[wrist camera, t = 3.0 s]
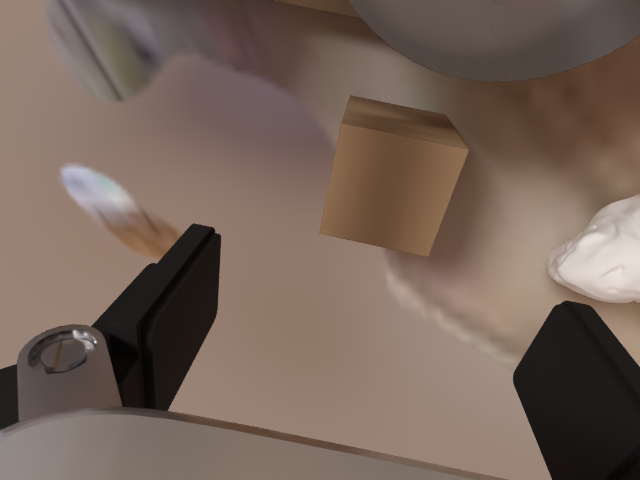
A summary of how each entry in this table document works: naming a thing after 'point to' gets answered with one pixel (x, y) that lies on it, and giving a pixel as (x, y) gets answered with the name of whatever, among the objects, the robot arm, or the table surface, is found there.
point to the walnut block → (392, 176)
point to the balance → (502, 34)
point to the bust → (603, 255)
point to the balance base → (326, 6)
